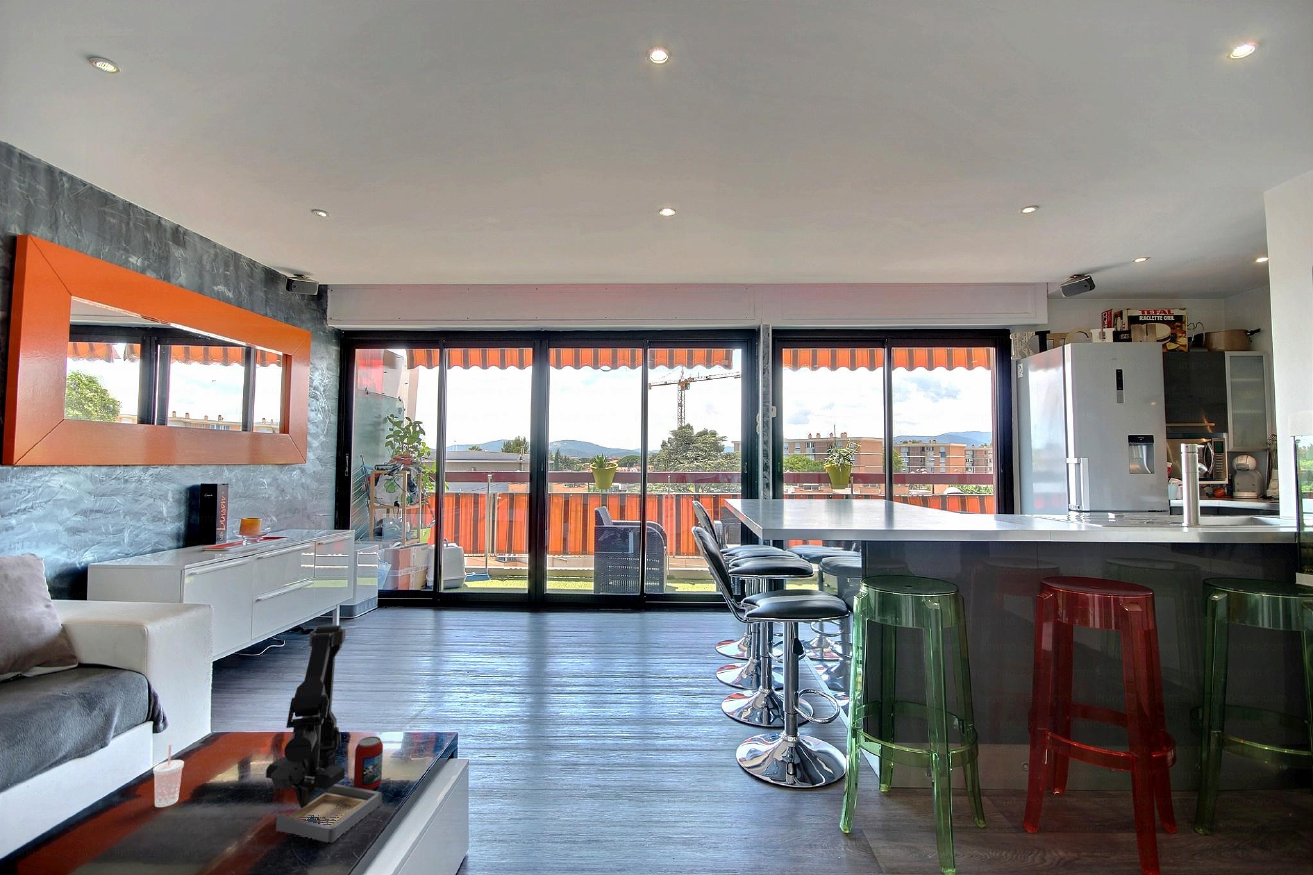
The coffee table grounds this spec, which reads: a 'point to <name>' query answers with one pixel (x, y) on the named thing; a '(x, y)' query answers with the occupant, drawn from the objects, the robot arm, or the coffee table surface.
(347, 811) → the tray
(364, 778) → the beverage can
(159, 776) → the beverage cup
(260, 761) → the coffee table surface
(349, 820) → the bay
